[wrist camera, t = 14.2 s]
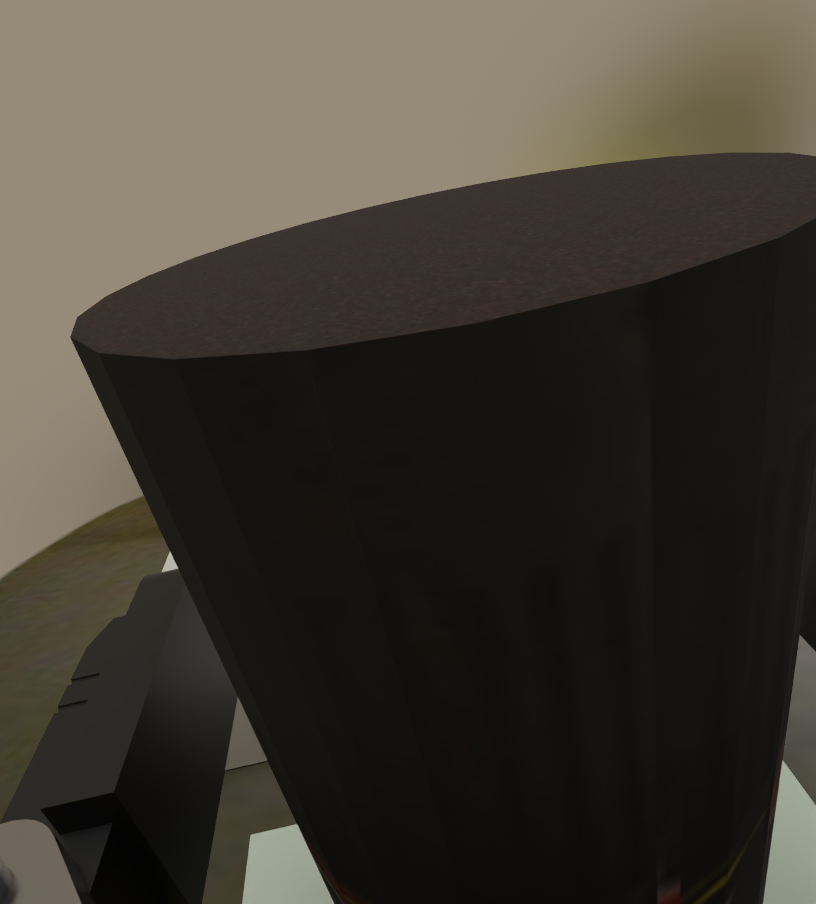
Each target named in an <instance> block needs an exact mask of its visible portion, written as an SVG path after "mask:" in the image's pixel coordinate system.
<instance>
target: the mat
mask: <svg viewBox="0 0 816 904" xmlns="http://www.w3.org/2000/svg"><path fill="white" fill-rule="evenodd" d="M242 904H334V902H333V900H332V898H331V896H330V894H329V891H328V889H327V887H326V885H325V883H324V881H323V879H322V876H321V874H320V872H319V870H318V868H317V866H316V864H315V861H314V859H313V857H312V855H311V853H310V851H309V849H308V846H307V844H306V842H305V840H304V838H303V836H302V833H301V831H300V829H299V827H298V825H297V824H296V825H291V826H287V827H283V828H278V829H274V830H270V831H265V832H261V833H257V834H252V835H251V836H250V844H249V852H248V861H247V869H246V877H245V886H244V894H243V902H242ZM763 904H816V805H815V804H814V803H813V801H812V800H811V798H810V797H809V796H808V794H807V793H806V792H805V790H804V789H803V787H802V786H801V785H800V783H799V782H798V781H797V779H796V778H795V776H794V775H793V774H792V772H791V771H790V770H789V768H788V767H787V765H786V764H785V763H784V761H783V760H782V767H781V774H780V782H779V789H778V796H777V804H776V811H775V818H774V826H773V833H772V841H771V848H770V855H769V863H768V870H767V877H766V885H765V892H764V900H763Z"/></svg>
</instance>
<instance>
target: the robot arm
mask: <svg viewBox="0 0 816 904" xmlns="http://www.w3.org/2000/svg"><path fill="white" fill-rule="evenodd" d="M800 635H801V636H802V637H803V638H804V640H805V641H806V642H807V643H808V644H809V645H810V646H811V647H812V648H813V649H814V650H815V651H816V516H815V524H814V531H813V538H812V546H811V553H810V560H809V568H808V575H807V583H806V590H805V597H804V605H803V612H802V619H801V627H800ZM71 681H72V685H70V686H68V687H67V689H66V691H65V693H64V695H63V697H62V699H61V701H60V703H59V705H58V709H59V711H58V713H54V715H53V717H52V719H51V721H50V723H49V725H48V727H47V729H46V731H45V733H44V735H43V737H42V739H41V741H40V743H39V745H38V748H37V750H36V752H35V754H34V756H33V758H32V760H31V762H30V764H29V766H28V768H27V770H26V772H25V774H24V776H23V778H22V780H21V782H20V784H19V786H18V788H17V790H16V792H15V794H14V796H13V798H12V800H11V802H10V804H9V806H8V808H7V811H6V813H5V815H4V817H3V819H2V821H1V823H0V904H202V898H203V893H204V887H205V881H206V876H207V870H208V864H209V858H210V853H211V847H212V841H213V835H214V830H215V824H216V818H217V813H218V807H219V801H220V795H221V790H222V784H223V778H224V773H225V767H226V761H227V755H228V750H229V744H230V738H231V732H232V727H233V721H234V715H235V710H236V704H237V698H238V696H237V694H236V692H235V690H234V687H233V685H232V683H231V681H230V679H229V677H228V675H227V672H226V670H225V668H224V666H223V664H222V662H221V660H220V657H219V655H218V653H217V651H216V649H215V647H214V645H213V642H212V640H211V638H210V636H209V634H208V632H207V629H206V627H205V625H204V623H203V621H202V619H201V617H200V614H199V612H198V610H197V608H196V606H195V604H194V602H193V599H192V597H191V595H190V593H189V591H188V589H187V587H186V584H185V582H184V580H183V578H182V576H181V574H180V572H179V569H174V570H169V571H165V572H161V573H156V574H152V575H147V576H145V577H144V578H143V579H142V580H141V582H140V584H139V586H138V589H137V591H136V593H135V595H134V598H133V600H132V602H131V604H130V607H129V609H128V611H127V613H126V616H122V617H117V618H114V619H113V620H112V621H111V622H110V623H109V624H108V625H107V626H106V627H105V628H104V629H103V631H102V632H101V633H100V634H99V635H98V636H97V637H96V638H95V639H94V640H93V641H92V643H91V644H90V645H89V646H88V647H87V648H86V650H85V652H84V654H83V656H82V658H81V660H80V662H79V664H78V666H77V668H76V670H75V672H74V674H73V676H72V678H71Z"/></svg>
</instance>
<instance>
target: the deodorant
mask: <svg viewBox="0 0 816 904" xmlns="http://www.w3.org/2000/svg"><path fill="white" fill-rule="evenodd" d="M71 339H72V342H73V344H74V346H75V348H76V350H77V352H78V355H79V357H80V359H81V361H82V363H83V365H84V367H85V369H86V372H87V374H88V376H89V378H90V380H91V383H92V385H93V387H94V389H95V391H96V393H97V395H98V398H99V400H100V402H101V404H102V406H103V408H104V410H105V413H106V415H107V417H108V419H109V421H110V423H111V425H112V428H113V430H114V432H115V434H116V436H117V438H118V441H119V442H120V445H121V447H122V449H123V451H124V453H125V456H126V458H127V459H128V462H129V464H130V466H131V468H132V470H133V473H134V475H135V477H136V479H137V481H138V483H139V486H140V488H141V489H142V492H143V494H144V496H145V498H146V501H147V503H148V505H149V507H150V509H151V511H152V514H153V516H154V518H155V520H156V522H157V524H158V526H159V529H160V531H161V533H162V535H163V537H164V539H165V541H166V544H167V546H168V548H169V550H170V552H171V554H172V556H173V559H174V561H175V563H176V565H177V567H178V569H179V572H180V574H181V576H182V578H183V580H184V582H185V584H186V587H187V589H188V591H189V593H190V595H191V597H192V599H193V602H194V604H195V606H196V608H197V610H198V612H199V614H200V617H201V619H202V621H203V623H204V625H205V627H206V629H207V632H208V634H209V636H210V638H211V640H212V642H213V645H214V647H215V649H216V651H217V653H218V655H219V657H220V660H221V662H222V664H223V666H224V668H225V670H226V672H227V675H228V677H229V679H230V681H231V683H232V685H233V687H234V690H235V692H236V694H237V696H238V698H239V700H240V703H241V705H242V707H243V709H244V711H245V713H246V715H247V718H248V720H249V722H250V724H251V726H252V728H253V730H254V733H255V735H256V737H257V739H258V741H259V743H260V745H261V748H262V750H263V752H264V754H265V756H266V758H267V760H268V763H269V765H270V767H271V769H272V771H273V773H274V776H275V778H276V780H277V782H278V784H279V786H280V788H281V791H282V793H283V795H284V797H285V799H286V801H287V803H288V806H289V808H290V810H291V812H292V814H293V816H294V818H295V821H296V823H297V825H298V827H299V829H300V831H301V833H302V836H303V838H304V840H305V842H306V844H307V846H308V849H309V851H310V853H311V855H312V857H313V859H314V861H315V864H316V866H317V868H318V870H319V872H320V874H321V876H322V879H323V881H324V883H325V885H326V887H327V889H328V891H329V894H330V896H331V898H332V900H333V902H334V904H763V900H764V892H765V885H766V877H767V870H768V863H769V855H770V848H771V841H772V833H773V826H774V818H775V811H776V804H777V796H778V789H779V782H780V774H781V767H782V759H783V752H784V745H785V737H786V730H787V723H788V715H789V708H790V700H791V693H792V686H793V678H794V671H795V664H796V656H797V649H798V641H799V634H800V627H801V619H802V612H803V605H804V597H805V590H806V583H807V575H808V568H809V560H810V553H811V546H812V538H813V531H814V524H815V516H816V156H809V155H801V154H793V153H720V154H703V155H688V156H674V157H662V158H653V159H644V160H635V161H625V162H616V163H608V164H600V165H593V166H586V167H579V168H572V169H566V170H558V171H551V172H545V173H538V174H533V175H526V176H521V177H515V178H509V179H503V180H498V181H492V182H487V183H481V184H475V185H471V186H465V187H460V188H456V189H451V190H446V191H441V192H436V193H431V194H426V195H421V196H416V197H412V198H408V199H404V200H399V201H394V202H390V203H386V204H381V205H377V206H373V207H368V208H364V209H360V210H356V211H352V212H348V213H344V214H340V215H336V216H332V217H328V218H325V219H320V220H317V221H313V222H309V223H305V224H302V225H298V226H295V227H291V228H288V229H284V230H281V231H277V232H274V233H270V234H267V235H263V236H260V237H257V238H253V239H250V240H246V241H244V242H240V243H237V244H234V245H231V246H228V247H225V248H222V249H219V250H216V251H214V252H211V253H207V254H204V255H201V256H198V257H195V258H193V259H190V260H188V261H185V262H183V263H180V264H177V265H175V266H172V267H170V268H167V269H165V270H162V271H160V272H157V273H154V274H152V275H149V276H147V277H145V278H143V279H141V280H139V281H137V282H135V283H132V284H130V285H128V286H126V287H124V288H122V289H120V290H118V291H116V292H114V293H112V294H110V295H108V296H106V297H104V298H103V299H102V300H100V301H99V302H98V303H96V304H95V305H94V306H92V307H91V308H90V309H88V310H87V311H85V312H84V313H83V314H81V315H80V316H78V317H77V320H76V323H75V325H74V328H73V331H72V334H71Z"/></svg>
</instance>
